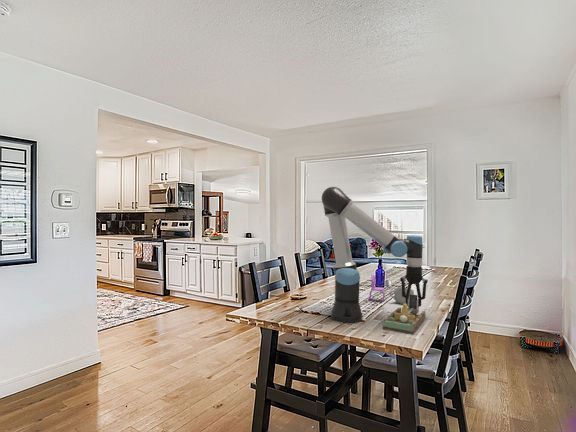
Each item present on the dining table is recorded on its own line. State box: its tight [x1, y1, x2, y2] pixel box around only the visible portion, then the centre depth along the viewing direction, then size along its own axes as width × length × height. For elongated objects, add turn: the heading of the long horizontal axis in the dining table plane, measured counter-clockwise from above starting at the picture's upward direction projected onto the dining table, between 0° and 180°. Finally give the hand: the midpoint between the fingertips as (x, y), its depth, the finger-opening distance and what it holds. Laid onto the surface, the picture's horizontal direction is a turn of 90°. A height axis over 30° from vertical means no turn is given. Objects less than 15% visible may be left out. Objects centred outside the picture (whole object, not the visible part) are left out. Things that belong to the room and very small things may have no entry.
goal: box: [382, 317, 414, 331], centre depth 163 cm, size 8×13×2 cm, turn 60°
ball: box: [400, 315, 408, 323], centre depth 169 cm, size 4×4×4 cm
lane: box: [382, 307, 427, 335], centre depth 172 cm, size 28×13×4 cm, turn 150°
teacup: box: [388, 287, 415, 305], centre depth 212 cm, size 14×11×8 cm
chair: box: [367, 274, 386, 303], centre depth 216 cm, size 8×9×15 cm
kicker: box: [395, 294, 418, 322], centre depth 180 cm, size 21×9×9 cm, turn 149°
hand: (413, 311), depth 187 cm, fingers closed on kicker, 4 cm apart
